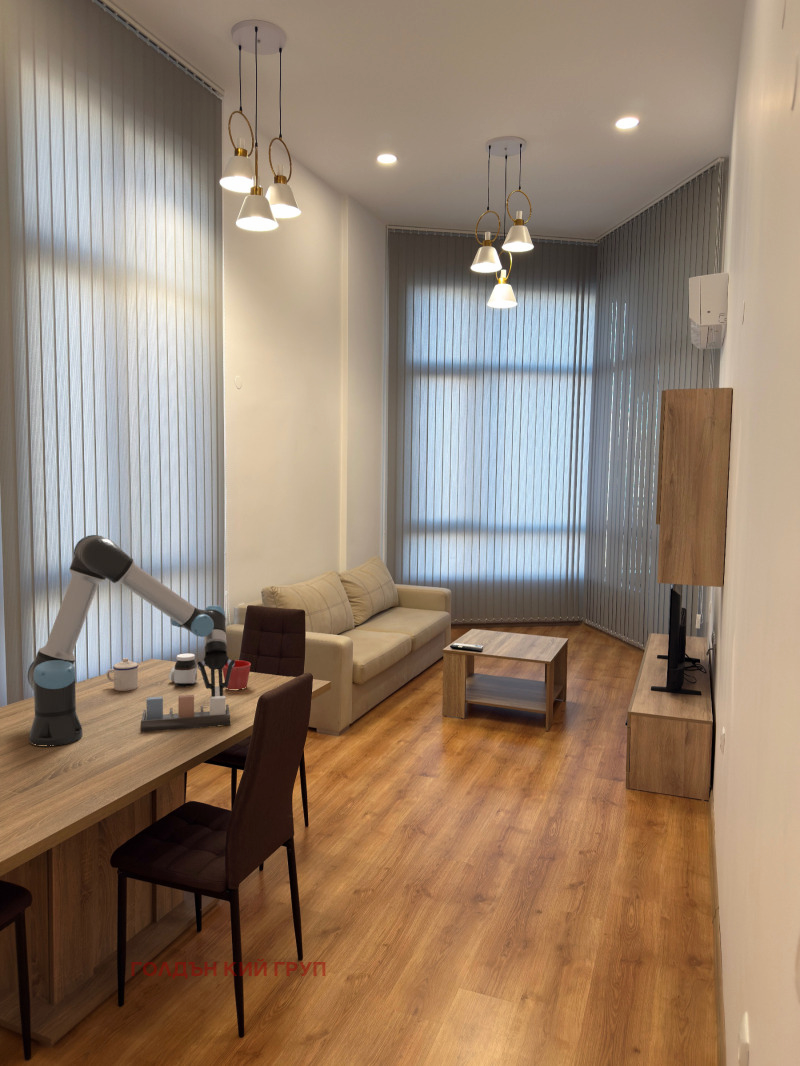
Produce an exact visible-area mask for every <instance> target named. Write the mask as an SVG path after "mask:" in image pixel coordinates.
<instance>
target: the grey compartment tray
mask: <svg viewBox="0 0 800 1066" xmlns="http://www.w3.org/2000/svg"><path fill="white" fill-rule="evenodd" d="M229 708H230V706H229V704H225V715H211V716H210V710H209V711H204V705H200V711H196V712H195V711H194V717H182V718H179V712H178V713H174V712H173V707H172V708H169V713H168V714H167V713H166V714H165V713H163V719H153V720H147V709H143V712H142V715H141V720H140V732H141V733H147V732H157V731H160V732H161V731H172V730H173V731H174V730H186V729H198V728H199V729H200V727H202V728H210V727H209V726H216V727H219V726H218V725H229V726H231V714H230V713H231V712H230V709H229Z"/></svg>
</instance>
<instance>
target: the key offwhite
mask: <svg viewBox="0 0 800 1066" xmlns="http://www.w3.org/2000/svg"><path fill="white" fill-rule="evenodd" d="M225 710H226V696H225V695H223V696H215V697H211V696H209V711H210V716H211V715H225Z"/></svg>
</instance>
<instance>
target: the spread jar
mask: <svg viewBox="0 0 800 1066" xmlns="http://www.w3.org/2000/svg"><path fill="white" fill-rule="evenodd" d="M195 657H196V655H195V654H194V653H180V654H177V655H176V661H175V665H174V666H173V667H172V668H171V669H170V671H169V674H168V680H170V681H171V682H173V683H174V684H175V685H176V686H178V687H180V686H181V688H182V687H183V688H185V687H186V686H189V687H192V685H193V686H195V685H196V683H197V681H198V661H196V659H195ZM194 684H195V685H194Z"/></svg>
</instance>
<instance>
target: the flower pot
mask: <svg viewBox="0 0 800 1066" xmlns="http://www.w3.org/2000/svg"><path fill="white" fill-rule="evenodd" d="M251 665H252V664H251V662H249V661H246V660H239V659H238V660H235V665H234V667H233V668H232V671H231V675H230V679H229V684H228V687H227V688H228V689H242V688H245V687H246V688H247V687H248V681H249V675H250V670H251ZM227 670H228V663H226V665H225V666H224V667H223V668H222V676H223V679H224V681H225V678H226V674H227Z"/></svg>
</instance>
